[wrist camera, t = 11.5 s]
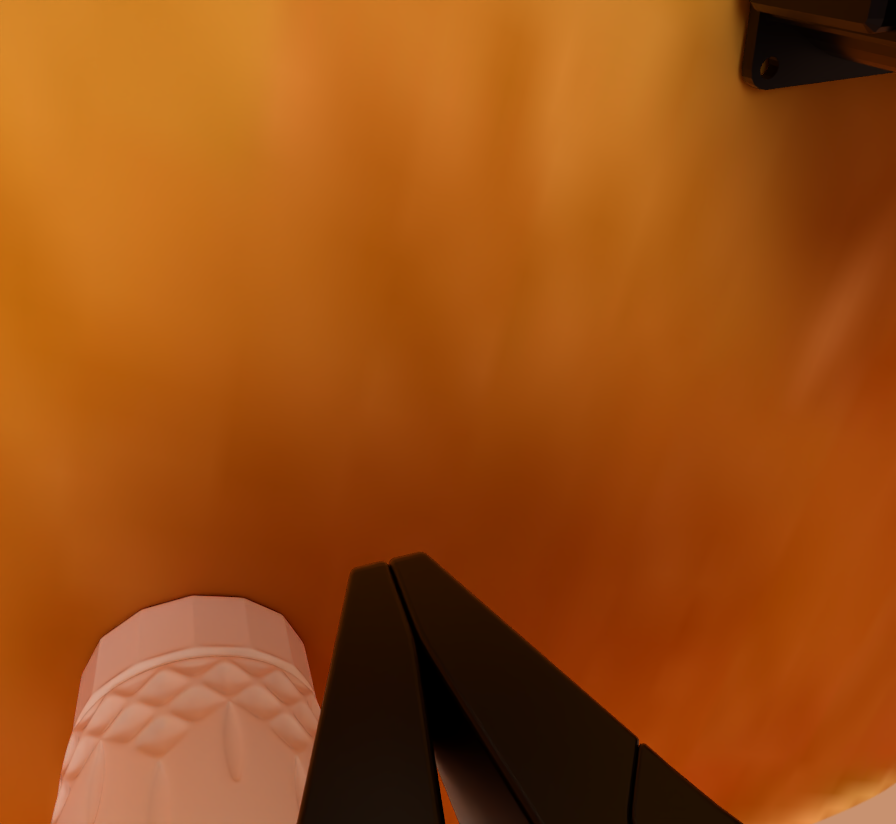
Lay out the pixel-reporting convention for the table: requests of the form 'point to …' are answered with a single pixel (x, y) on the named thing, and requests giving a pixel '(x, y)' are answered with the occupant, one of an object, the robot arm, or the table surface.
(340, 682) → the robot arm
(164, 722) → the white cup
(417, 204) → the table surface
